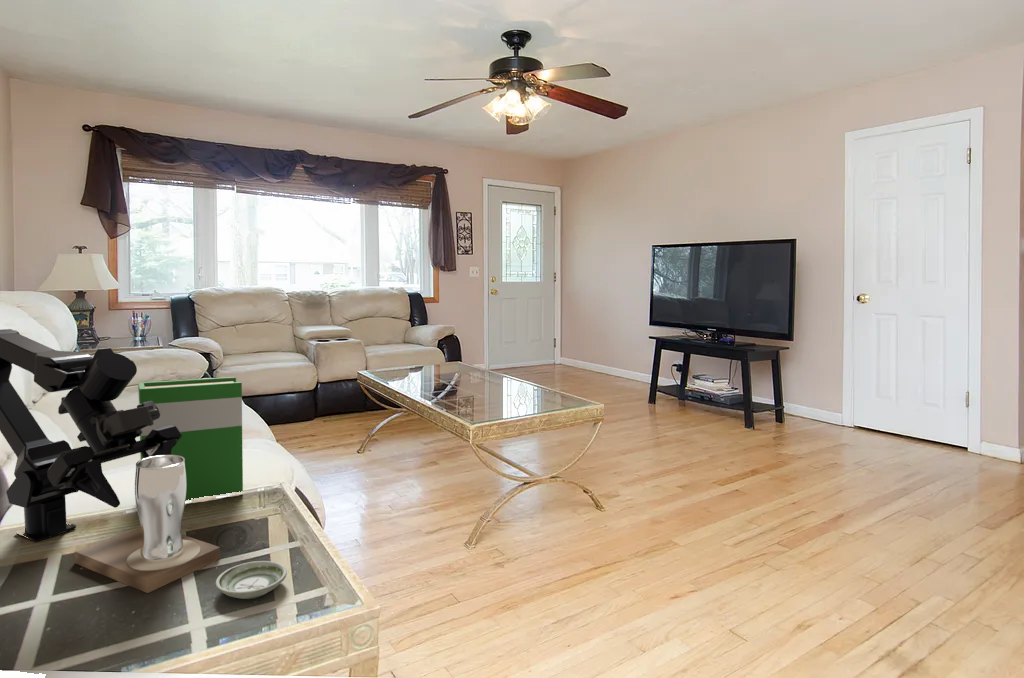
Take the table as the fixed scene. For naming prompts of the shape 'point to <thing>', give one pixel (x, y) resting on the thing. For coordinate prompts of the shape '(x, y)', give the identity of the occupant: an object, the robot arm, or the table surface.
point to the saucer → (251, 579)
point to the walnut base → (126, 566)
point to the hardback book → (202, 430)
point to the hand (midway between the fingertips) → (146, 495)
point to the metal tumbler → (161, 506)
